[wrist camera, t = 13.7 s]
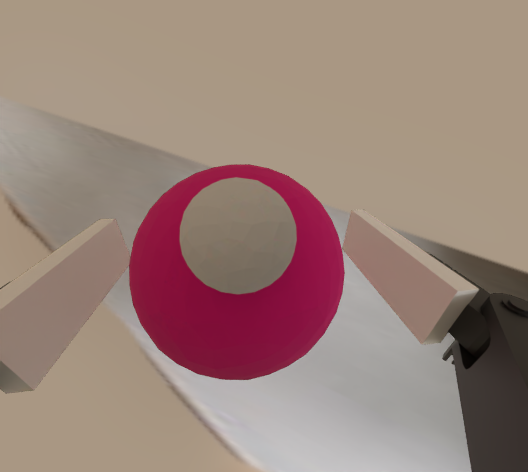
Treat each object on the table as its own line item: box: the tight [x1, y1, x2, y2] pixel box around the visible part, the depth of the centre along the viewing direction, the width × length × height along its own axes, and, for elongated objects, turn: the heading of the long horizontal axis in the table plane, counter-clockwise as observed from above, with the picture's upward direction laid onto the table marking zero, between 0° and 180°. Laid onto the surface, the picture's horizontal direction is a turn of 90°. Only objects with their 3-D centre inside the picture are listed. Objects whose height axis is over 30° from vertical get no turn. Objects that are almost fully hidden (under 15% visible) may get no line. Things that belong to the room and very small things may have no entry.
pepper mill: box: [129, 165, 345, 380], centre depth 12 cm, size 7×7×20 cm
